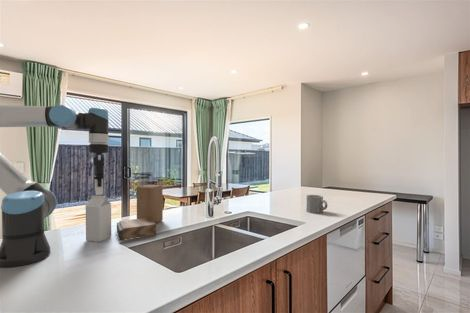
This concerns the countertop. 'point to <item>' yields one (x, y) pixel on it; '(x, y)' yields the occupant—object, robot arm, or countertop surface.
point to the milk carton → (98, 219)
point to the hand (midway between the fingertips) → (98, 192)
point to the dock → (136, 228)
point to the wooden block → (150, 202)
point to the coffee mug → (315, 204)
